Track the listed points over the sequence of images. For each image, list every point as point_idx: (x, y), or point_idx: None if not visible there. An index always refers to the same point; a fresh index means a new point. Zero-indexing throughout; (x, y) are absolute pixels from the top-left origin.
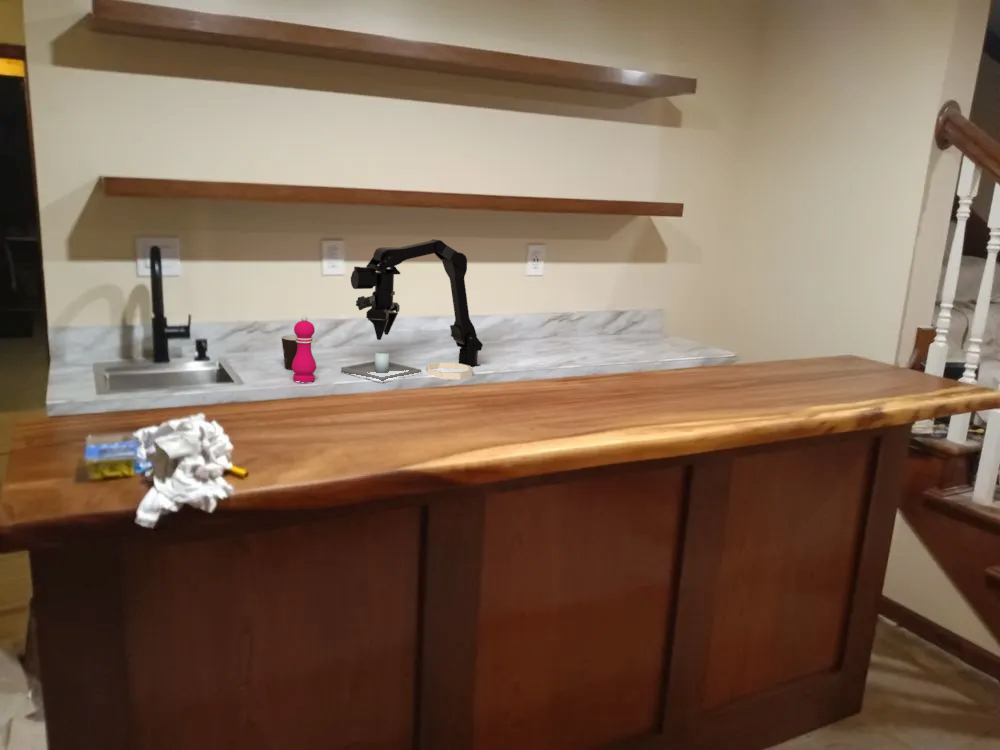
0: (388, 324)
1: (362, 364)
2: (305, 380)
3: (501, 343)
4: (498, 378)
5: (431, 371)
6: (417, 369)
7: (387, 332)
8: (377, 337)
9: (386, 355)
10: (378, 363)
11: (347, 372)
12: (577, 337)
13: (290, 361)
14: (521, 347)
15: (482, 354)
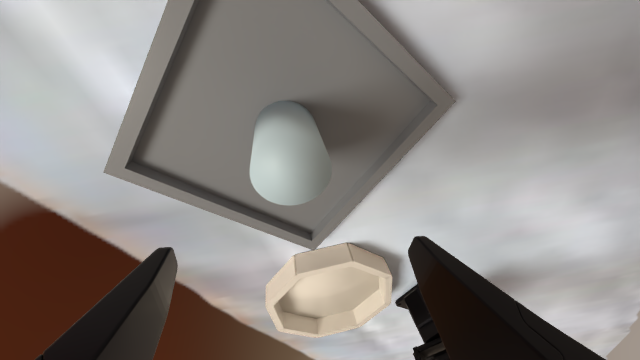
0: (462, 336)
1: (350, 22)
2: None
3: (610, 294)
4: (322, 344)
5: (286, 279)
6: (314, 242)
7: (415, 265)
8: (143, 268)
9: (265, 197)
10: (253, 140)
11: None
12: (602, 347)
13: None
14: (565, 319)
15: (527, 291)
